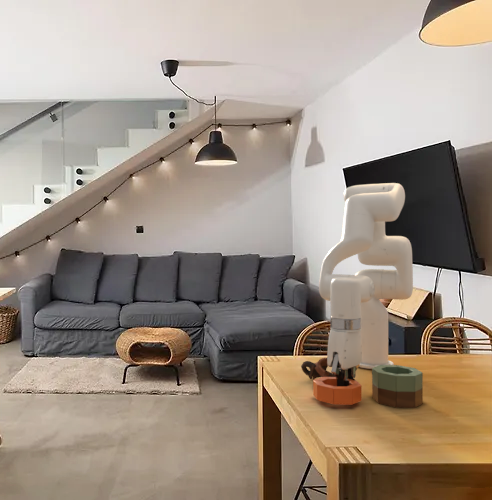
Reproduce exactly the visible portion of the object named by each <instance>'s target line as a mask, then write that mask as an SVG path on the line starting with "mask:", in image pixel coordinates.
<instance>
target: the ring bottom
mask: <svg viewBox="0 0 492 500" xmlns="http://www.w3.org/2000/svg"><path fill="white" fill-rule="evenodd" d="M423 392H424V391H423V388H422V389H420V390H418V391H415V392H395V391H391V390H386V389H381V388H378V387H377V386H375V385H374V384H373V383H372V382H371V394H372V395H371V396H372V399H373V400H374V401H375V402H376V403H377V404H379V405H383V406H387V407H393V408H399V409H400V408H403V409H404V408H406V409H408V408H411V409H415V408H417V407H419V406H421V405H423V402H424V401H423V399H424V395H423V394H424V393H423Z"/></svg>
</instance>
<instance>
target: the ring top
mask: <svg viewBox="0 0 492 500" xmlns="http://www.w3.org/2000/svg"><path fill="white" fill-rule="evenodd" d="M348 380H349V386H337V379H336V377H319V378H316V379H314V380H313V379H312V387H313V388H312V389H313V391H312V392H313V393H312V394H313V397H314V398H315V399H316V401H319V402H324V403H327V404H331V405H348V406H350V405H351V406H352V405H355V404H358V403H360V402H362V399H363V398H362V395H363V394H362V384H361V383H360V382H358V381H357V380H356V379H355V380H352V379H348Z"/></svg>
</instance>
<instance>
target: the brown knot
mask: <svg viewBox="0 0 492 500" xmlns="http://www.w3.org/2000/svg"><path fill="white" fill-rule="evenodd" d="M300 367H301V370H302V372H303V373H304V374H305V375H306V376H308V378H309V379H310V380H312V381H313V380H315V379H318V378H321V377H336V375H335V374H333V373H332V372H330V371H328V370H327V369H328V367H329V366H328V365H327V357H322V358H320V359H318V361H316V362H313V361H310V360H305V361H303V362H302V364H301V366H300ZM339 367H341V366H339ZM342 372H343V374H344V371H342Z"/></svg>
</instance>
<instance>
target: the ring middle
mask: <svg viewBox="0 0 492 500" xmlns="http://www.w3.org/2000/svg"><path fill="white" fill-rule="evenodd" d="M423 374H424V373H423V371H421V370H419V369H417V368H415V367H412V366H405V365H399V364H394V365H379V366H376V367H374V368H372V369H371V375H372V376H371V384H372V383H373V384H374V385H375V386H377V387H378V388H381V389H386V390H391V391H395V392H415V391H418V390H420V389H422V388H423V387H424V385H423V384H424V383H423V376H424V375H423Z"/></svg>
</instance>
